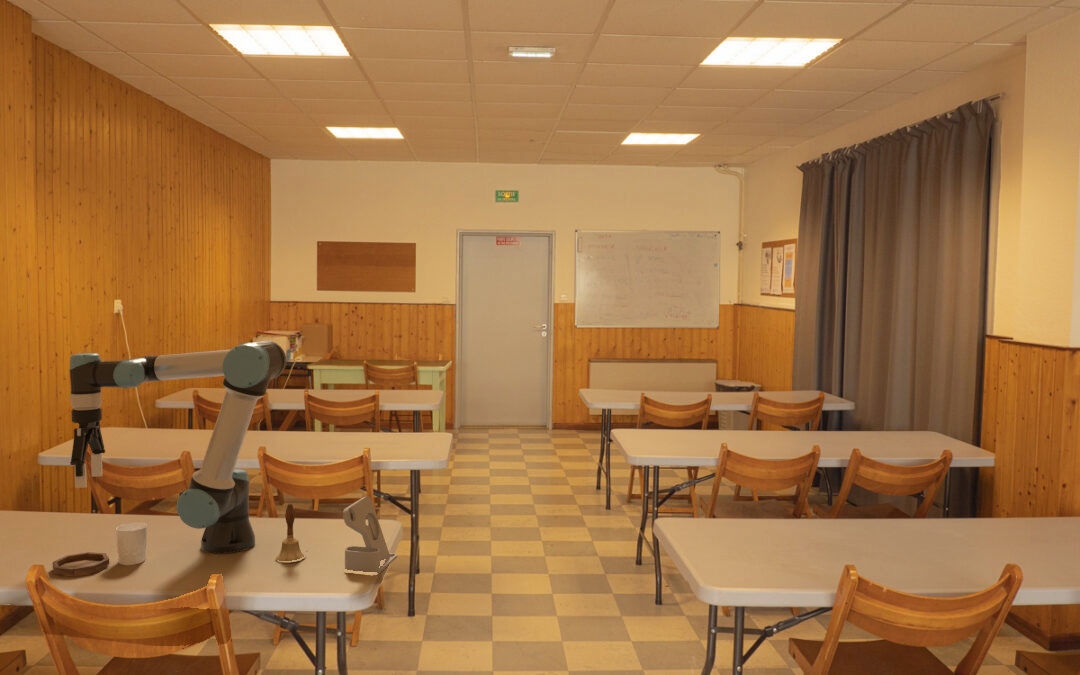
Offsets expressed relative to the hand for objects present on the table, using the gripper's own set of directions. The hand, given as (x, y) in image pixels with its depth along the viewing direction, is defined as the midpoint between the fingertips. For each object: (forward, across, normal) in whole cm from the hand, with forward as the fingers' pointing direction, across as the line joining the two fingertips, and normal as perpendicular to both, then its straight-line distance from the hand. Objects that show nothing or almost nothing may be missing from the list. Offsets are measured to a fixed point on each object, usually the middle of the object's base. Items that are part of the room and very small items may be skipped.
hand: (89, 481), depth 233 cm
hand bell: (+23, +11, +56) cm, 61 cm away
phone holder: (+23, +19, +78) cm, 84 cm away
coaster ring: (+21, +11, +1) cm, 24 cm away
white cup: (+22, +7, +12) cm, 26 cm away
